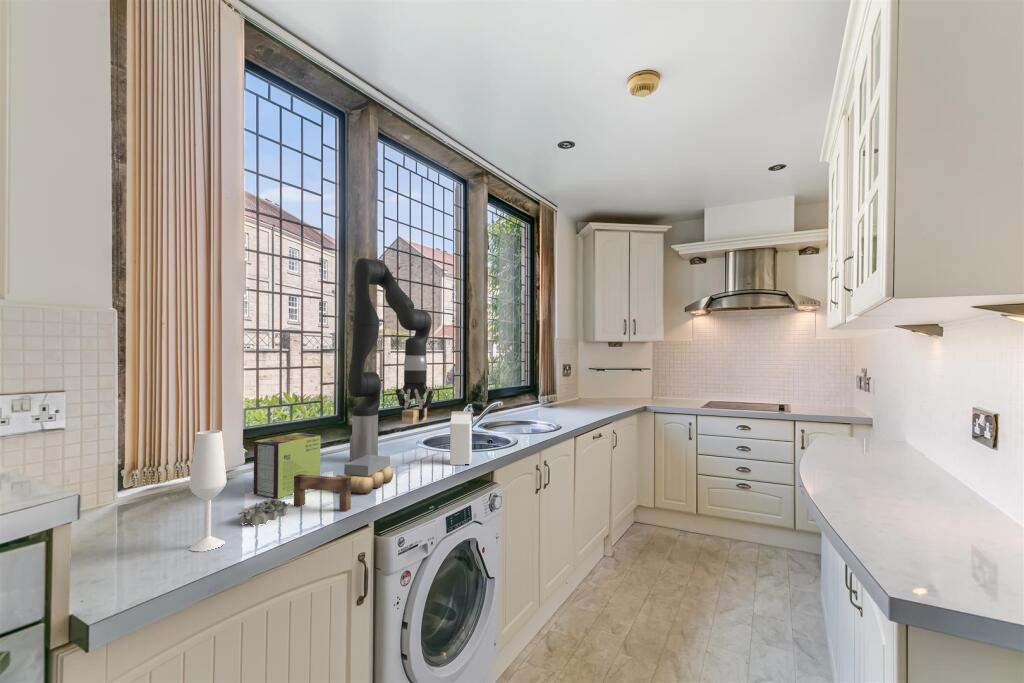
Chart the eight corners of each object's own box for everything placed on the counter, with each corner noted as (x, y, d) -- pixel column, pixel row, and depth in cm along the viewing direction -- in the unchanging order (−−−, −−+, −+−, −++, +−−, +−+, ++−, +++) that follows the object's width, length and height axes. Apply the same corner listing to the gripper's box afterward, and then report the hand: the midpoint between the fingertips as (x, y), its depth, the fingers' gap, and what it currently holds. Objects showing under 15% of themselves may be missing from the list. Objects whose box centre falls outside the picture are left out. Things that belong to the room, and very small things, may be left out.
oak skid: (413, 424, 157) (413, 411, 157) (401, 423, 158) (402, 410, 158) (426, 419, 167) (426, 407, 167) (416, 418, 168) (416, 406, 168)
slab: (344, 474, 143) (344, 464, 143) (367, 464, 156) (367, 455, 156) (368, 476, 141) (368, 465, 141) (390, 465, 154) (390, 456, 154)
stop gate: (293, 506, 127) (293, 476, 128) (298, 504, 129) (299, 474, 130) (346, 511, 124) (346, 480, 124) (350, 508, 125) (350, 478, 126)
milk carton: (469, 465, 173) (469, 412, 174) (450, 465, 173) (450, 412, 174) (471, 461, 180) (471, 410, 181) (452, 460, 180) (453, 410, 181)
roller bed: (332, 492, 140) (332, 477, 140) (363, 478, 156) (363, 464, 156) (365, 495, 137) (365, 479, 137) (393, 480, 153) (393, 466, 153)
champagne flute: (180, 552, 98) (182, 434, 99) (201, 539, 105) (203, 429, 106) (213, 552, 98) (215, 435, 99) (232, 539, 105) (233, 429, 106)
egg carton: (258, 529, 112) (258, 511, 112) (233, 525, 115) (234, 508, 115) (292, 514, 122) (293, 498, 122) (270, 510, 125) (270, 495, 125)
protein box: (320, 485, 147) (321, 434, 148) (277, 499, 133) (278, 443, 134) (296, 481, 152) (297, 432, 152) (252, 494, 138) (252, 440, 138)
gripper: (390, 368, 160) (390, 420, 160) (430, 369, 157) (429, 422, 157) (401, 367, 168) (400, 417, 168) (439, 368, 164) (438, 419, 164)
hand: (414, 419), depth 162 cm, fingers closed on oak skid, 4 cm apart
